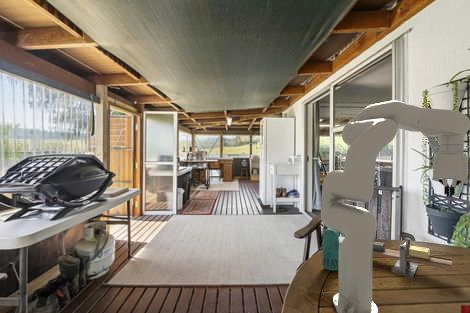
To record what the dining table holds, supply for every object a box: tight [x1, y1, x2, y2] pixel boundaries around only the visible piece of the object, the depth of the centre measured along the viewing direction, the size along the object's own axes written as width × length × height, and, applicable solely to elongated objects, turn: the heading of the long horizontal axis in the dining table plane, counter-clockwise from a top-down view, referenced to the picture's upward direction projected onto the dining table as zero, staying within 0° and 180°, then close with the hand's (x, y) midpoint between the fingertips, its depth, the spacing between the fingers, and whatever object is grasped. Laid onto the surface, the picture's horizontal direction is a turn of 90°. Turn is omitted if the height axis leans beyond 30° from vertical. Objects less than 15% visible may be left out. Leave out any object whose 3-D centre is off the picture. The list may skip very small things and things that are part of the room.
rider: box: [409, 245, 431, 260], centre depth 97 cm, size 5×6×4 cm
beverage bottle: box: [321, 227, 340, 271], centre depth 100 cm, size 6×7×20 cm
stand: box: [391, 237, 419, 279], centre depth 100 cm, size 13×7×11 cm, turn 136°
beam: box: [373, 241, 453, 271], centre depth 100 cm, size 7×28×5 cm, turn 46°
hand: (449, 196), depth 95 cm, fingers closed
